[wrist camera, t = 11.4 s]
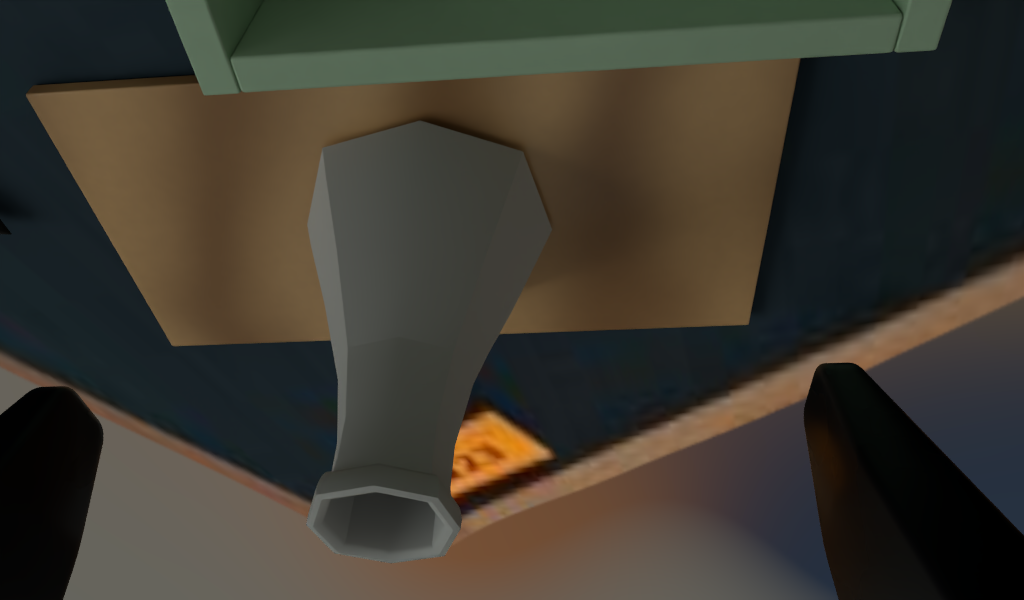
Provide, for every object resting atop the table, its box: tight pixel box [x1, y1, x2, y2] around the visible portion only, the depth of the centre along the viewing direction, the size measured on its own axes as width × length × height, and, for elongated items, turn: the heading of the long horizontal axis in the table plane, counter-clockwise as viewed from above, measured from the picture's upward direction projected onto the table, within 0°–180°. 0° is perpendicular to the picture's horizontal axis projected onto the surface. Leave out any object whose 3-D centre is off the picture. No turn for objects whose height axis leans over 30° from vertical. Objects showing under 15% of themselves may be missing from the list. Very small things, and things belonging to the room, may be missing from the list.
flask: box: [306, 121, 552, 563], centre depth 20 cm, size 7×7×10 cm
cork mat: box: [26, 58, 800, 346], centre depth 23 cm, size 20×10×1 cm, turn 95°
